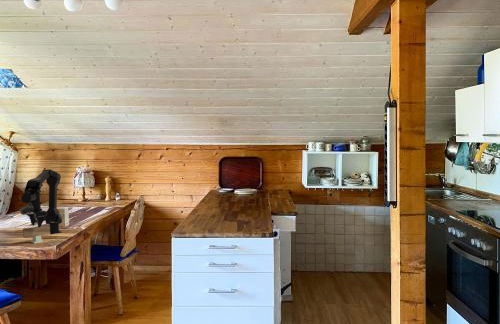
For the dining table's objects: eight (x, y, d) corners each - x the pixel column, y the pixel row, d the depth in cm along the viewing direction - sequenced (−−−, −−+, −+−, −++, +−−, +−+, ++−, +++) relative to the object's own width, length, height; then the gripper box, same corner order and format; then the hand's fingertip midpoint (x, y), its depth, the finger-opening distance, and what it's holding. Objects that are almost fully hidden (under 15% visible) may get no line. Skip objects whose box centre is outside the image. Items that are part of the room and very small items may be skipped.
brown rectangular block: (23, 236, 242) (22, 228, 241) (48, 232, 251) (47, 225, 251) (24, 238, 239) (24, 229, 239) (50, 234, 248) (49, 225, 248)
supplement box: (54, 226, 286) (53, 208, 285) (58, 225, 291) (58, 207, 290) (65, 227, 285) (64, 208, 284) (69, 225, 290) (68, 207, 289)
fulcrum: (31, 242, 245) (30, 235, 245) (39, 240, 249) (39, 234, 249) (34, 243, 242) (34, 236, 241) (43, 241, 245) (42, 235, 245)
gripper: (14, 200, 244) (15, 226, 245) (26, 204, 231) (27, 231, 232) (34, 198, 252) (35, 223, 253) (46, 201, 240) (48, 227, 241)
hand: (36, 226), depth 244 cm, fingers open, 9 cm apart
